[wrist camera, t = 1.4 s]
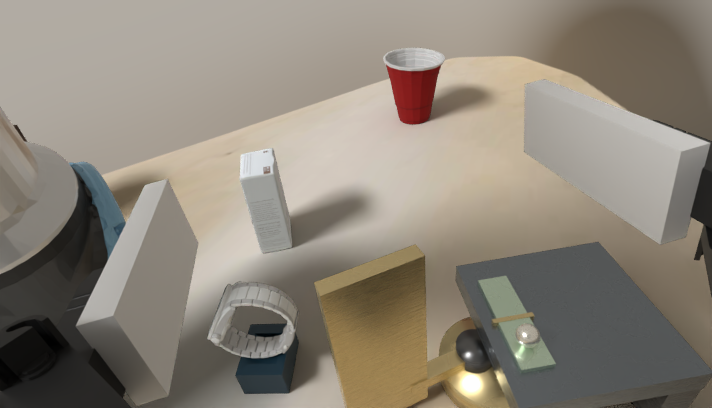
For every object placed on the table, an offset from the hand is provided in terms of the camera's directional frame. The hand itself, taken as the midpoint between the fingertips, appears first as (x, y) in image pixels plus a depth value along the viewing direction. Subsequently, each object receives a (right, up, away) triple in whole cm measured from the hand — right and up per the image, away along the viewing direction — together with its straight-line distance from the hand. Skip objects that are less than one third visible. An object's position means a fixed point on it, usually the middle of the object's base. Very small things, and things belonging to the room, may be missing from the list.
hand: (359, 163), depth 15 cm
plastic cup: (+11, +15, +67) cm, 69 cm away
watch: (-8, -18, +27) cm, 33 cm away
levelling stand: (+18, -16, +24) cm, 34 cm away
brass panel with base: (+9, -19, +22) cm, 30 cm away
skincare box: (-11, -6, +43) cm, 44 cm away
